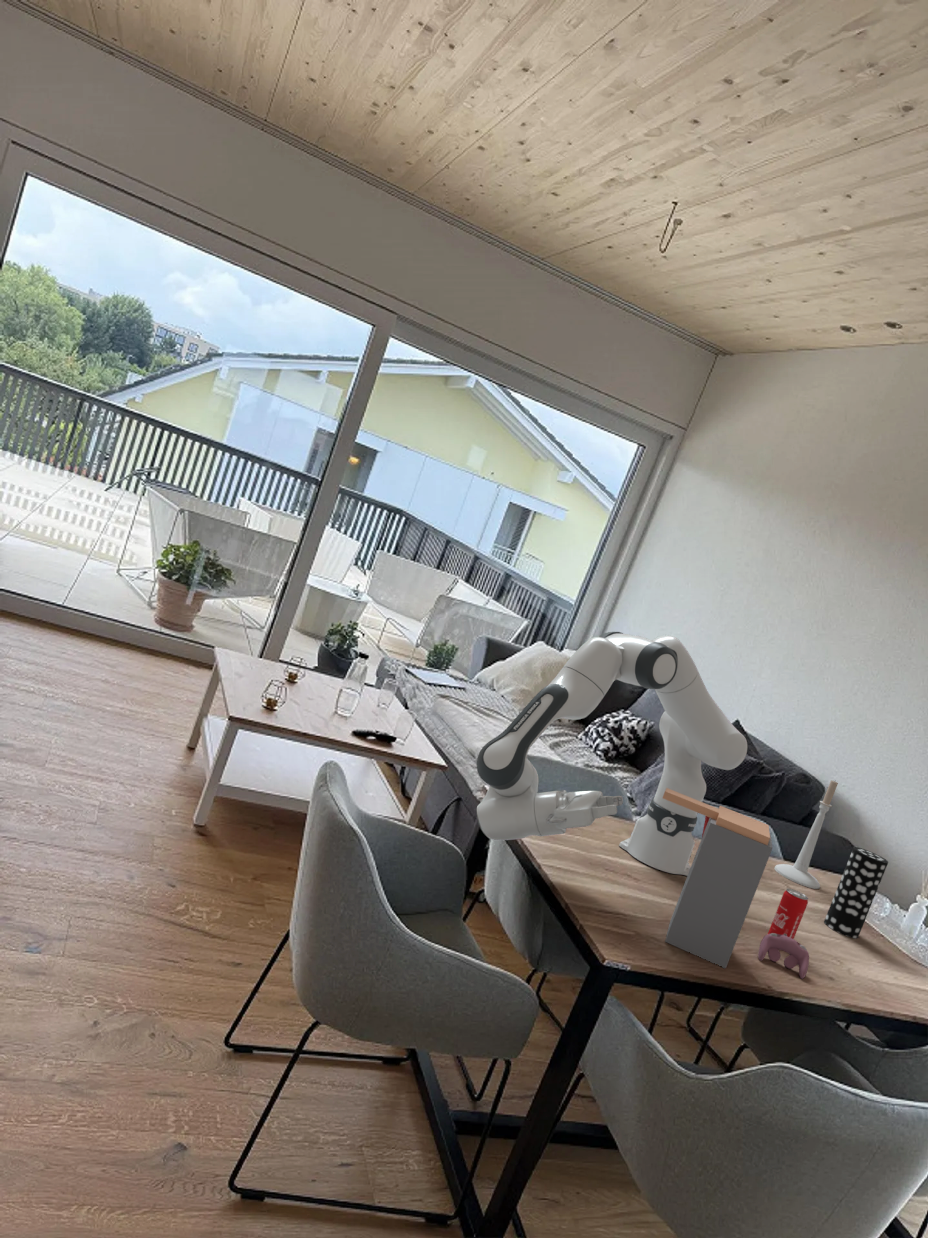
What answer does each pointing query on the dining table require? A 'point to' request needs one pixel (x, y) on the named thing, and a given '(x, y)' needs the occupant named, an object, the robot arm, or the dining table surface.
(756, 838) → the wooden paddle
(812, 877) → the candlestick
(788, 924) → the beverage can
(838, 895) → the white-spotted black cylinder
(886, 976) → the dining table surface
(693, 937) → the tall box
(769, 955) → the video game controller
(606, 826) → the dining table surface
